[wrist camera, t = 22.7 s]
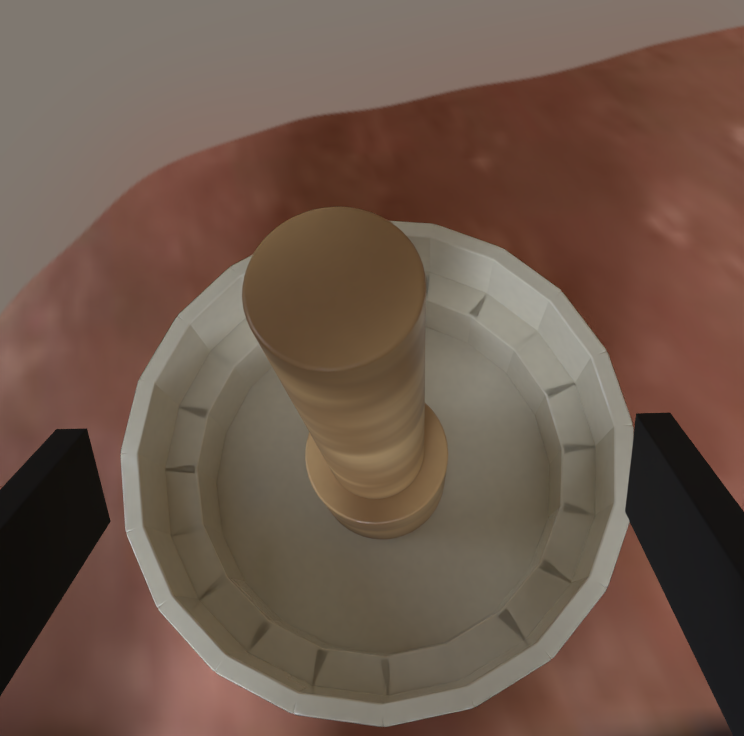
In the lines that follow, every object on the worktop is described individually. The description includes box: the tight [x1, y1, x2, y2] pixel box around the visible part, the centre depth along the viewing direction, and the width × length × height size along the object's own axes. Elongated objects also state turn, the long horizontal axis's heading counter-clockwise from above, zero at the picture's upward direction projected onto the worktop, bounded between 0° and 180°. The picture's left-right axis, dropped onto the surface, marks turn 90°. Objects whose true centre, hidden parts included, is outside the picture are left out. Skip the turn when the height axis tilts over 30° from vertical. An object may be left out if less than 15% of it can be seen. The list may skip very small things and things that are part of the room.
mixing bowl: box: [120, 221, 634, 727], centre depth 25 cm, size 16×16×6 cm
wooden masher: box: [242, 206, 448, 539], centre depth 19 cm, size 5×5×16 cm
